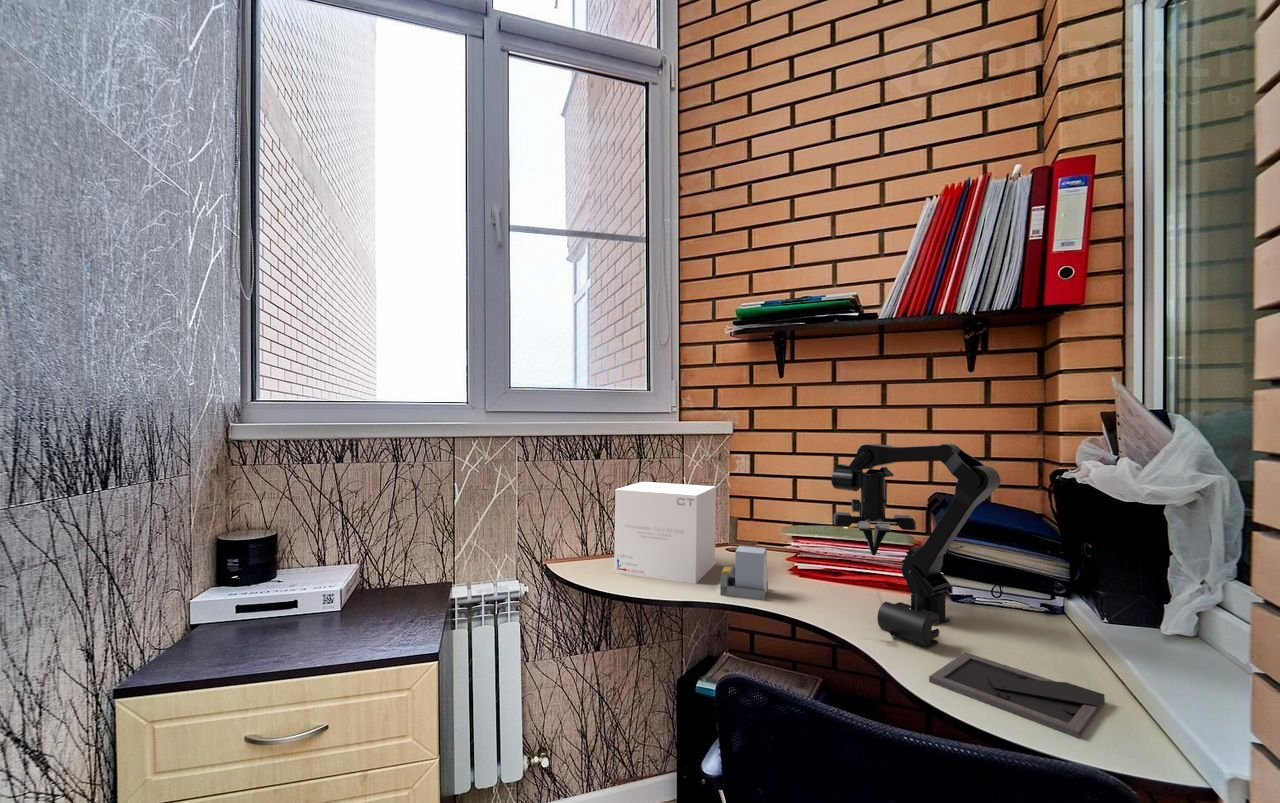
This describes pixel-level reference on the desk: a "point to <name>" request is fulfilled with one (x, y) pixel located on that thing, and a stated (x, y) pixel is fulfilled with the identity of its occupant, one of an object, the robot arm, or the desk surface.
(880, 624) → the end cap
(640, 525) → the cube
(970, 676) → the picture frame
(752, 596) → the rack deck
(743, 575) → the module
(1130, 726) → the desk surface
